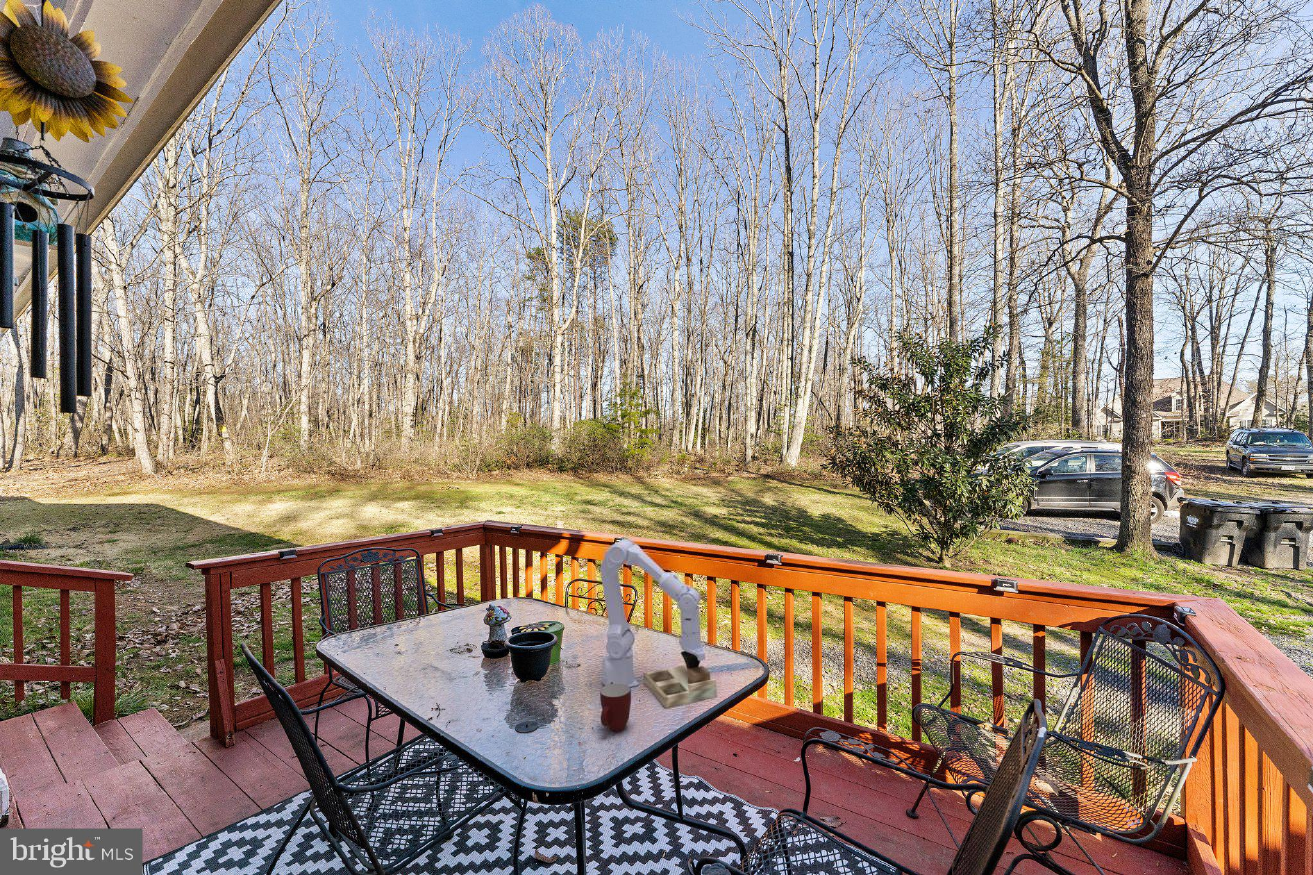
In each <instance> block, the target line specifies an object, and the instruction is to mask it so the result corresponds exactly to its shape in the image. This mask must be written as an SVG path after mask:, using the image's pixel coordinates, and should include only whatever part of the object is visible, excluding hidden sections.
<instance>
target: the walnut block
mask: <svg viewBox="0 0 1313 875" xmlns="http://www.w3.org/2000/svg"><path fill="white" fill-rule="evenodd" d="M687 675H688V683H689V684H693V683H698V682H702V681H707V680H711V672H710V671H709V670H708V669H707V668H706V667H705V666H703V665H699V667H695V668H690V669H687Z"/></svg>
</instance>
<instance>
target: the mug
mask: <svg viewBox="0 0 1313 875" xmlns="http://www.w3.org/2000/svg"><path fill="white" fill-rule="evenodd" d="M631 688H632V687H629V686H628V685H626V684H621V683H615V684H609V685H606V686H605V685H604V686H603V687H602V688H601V689H600V690H599V692H600V693H599V694H600V698H599V700H600V706H601V714H600V723H601V725H602V726H603V727H606V728H607V727H608V729H609V730H610V731H612V732H621V731H623V730H624V729H625V728H626V725H627V724H628V722H629V719H630V714H631V713H630V712H631V704H632V689H631Z"/></svg>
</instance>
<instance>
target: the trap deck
mask: <svg viewBox="0 0 1313 875" xmlns="http://www.w3.org/2000/svg"><path fill="white" fill-rule="evenodd" d="M643 684H644V685H645V686H646V688H647V689H648V688H649V689H648V690H649V691H650V692H651V694H652V695H653V696H654V697H655V699H657V701H658V702H659V703H660V704H661V705H662V706H663V708H664V709H665V710H666V709H671V708H674V707H678V706H684V705H687V704H691V703H696V702H700V701H703V700H708V699H713V698H714V699H715V698H718V694H717V693H718V692H717V691H718V690H717V679H716V678H713V679H710V680H707V681H702V682H698V683H693V684H689V683H688V675H687V667H686V664H684V665H680V666H679V665H678V666H674V667H670V668H664V669H659V670H655V671H651V672H645V673H643Z"/></svg>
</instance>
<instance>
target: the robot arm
mask: <svg viewBox="0 0 1313 875" xmlns="http://www.w3.org/2000/svg"><path fill="white" fill-rule="evenodd" d="M624 563H626V564H625V565H626V566H638V568H640V569H642V570H643V571H645V572H646V573H647V574H648V575H649V576H650V577H652V578H654V579H655V580H656V581H657V583H658V588H659V589H661V590H662V591H663V592H664V593H665V594H666V595H667V596H669V597H670V598H671V599H672V600H673V601H674V602H676V605H677V607H678V609H679V610H680V629H681V630H680V631H681V632H680V633H681V635H680V636H681V637H679V638H678V644H679V645H680V648H681V650H682V651H681V652H680V654H681V656H682V658H683V661H684V663H685V665H686V667H687V669H690V668H695V667H700V663H701V661H705V660H706V653H705V652H704V650H703V647H705V646H706V645H705V643H704V642H702V641H701V640H702V638H701V622H700V621H701V619H700V617H701V616H700V607H699V604H700V602H701V595H700V594H701V593H700V592H699V591H698V590H697V588H695V587H691V586H690V585H689V584H686V583H684V582H683V581H682V580H681V579H680V577H679V575H678V574H677V573H673V572H667V571H664V570H663V569H662V568H661V567H660V566H659V565H658V564H657V563H656V562H655V561H654V560H653V559H652V558H650V557H649V555H647V554H646V552H644V551H643V550H642V548H641V547H640V546H639V544H636V543H635V542H634V541H633V540H631V539H629V538H623V539H621V540H619V541H618V542H615V543H614V544H612V545H610V546H609V547H608V548H607V549H606V550H605V551H604V556H603V560H602V563H601V565H600V576H601V577H600V578H601V583H602V584H601V585H602V587H603V588H602V589H603V595H604V601H605V607H606V612H607V614H606V615H607V621H608V625H609V626H608V629H607V635H606V637H607V638H606V639H607V642H606V645H605V647H606V648H605V650H606V652H607V654H608V655H607V656H605V657H602V660H601V668H602V669H601V670H602V681H601V682H602V683H603V685H604V686H606V685H609V684H615V683H621V684H626V685H628V686H629V687H630V688H632V687H637V686H639V682H638V681H637V679H636V678H635V670H634V653H633V652H634V651H633V649H632V648H633V645H634V644H635V640H636V639H635V634H634V633H633V631H632V630H631V626H630V623H629V622H627V619H626V613H625V607H624V602H623V596H622V594H623V593H622V588H621V583H620V578H619V577H620V576H619V571H620V569H621V567H622V566H624Z"/></svg>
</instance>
